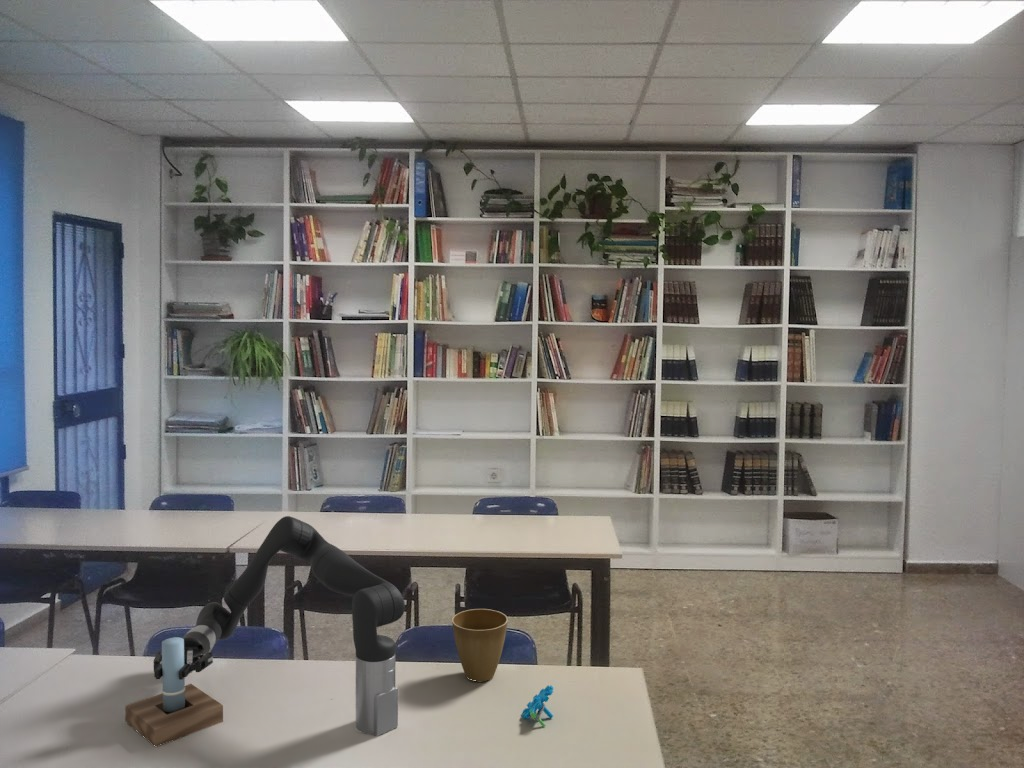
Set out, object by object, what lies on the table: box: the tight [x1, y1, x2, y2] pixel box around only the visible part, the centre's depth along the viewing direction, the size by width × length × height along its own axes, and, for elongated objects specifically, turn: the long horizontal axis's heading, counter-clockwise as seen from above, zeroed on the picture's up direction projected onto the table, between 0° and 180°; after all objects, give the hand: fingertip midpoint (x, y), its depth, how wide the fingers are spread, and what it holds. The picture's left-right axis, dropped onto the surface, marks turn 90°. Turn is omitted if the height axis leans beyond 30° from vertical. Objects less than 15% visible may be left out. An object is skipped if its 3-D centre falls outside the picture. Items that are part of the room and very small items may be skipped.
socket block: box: [124, 683, 224, 747], centre depth 191 cm, size 16×16×4 cm
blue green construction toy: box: [521, 685, 554, 728], centre depth 195 cm, size 11×6×10 cm
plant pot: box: [451, 608, 508, 682], centre depth 217 cm, size 15×15×16 cm
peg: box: [161, 636, 186, 712], centre depth 190 cm, size 5×5×16 cm
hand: (168, 675), depth 187 cm, fingers closed on peg, 4 cm apart
